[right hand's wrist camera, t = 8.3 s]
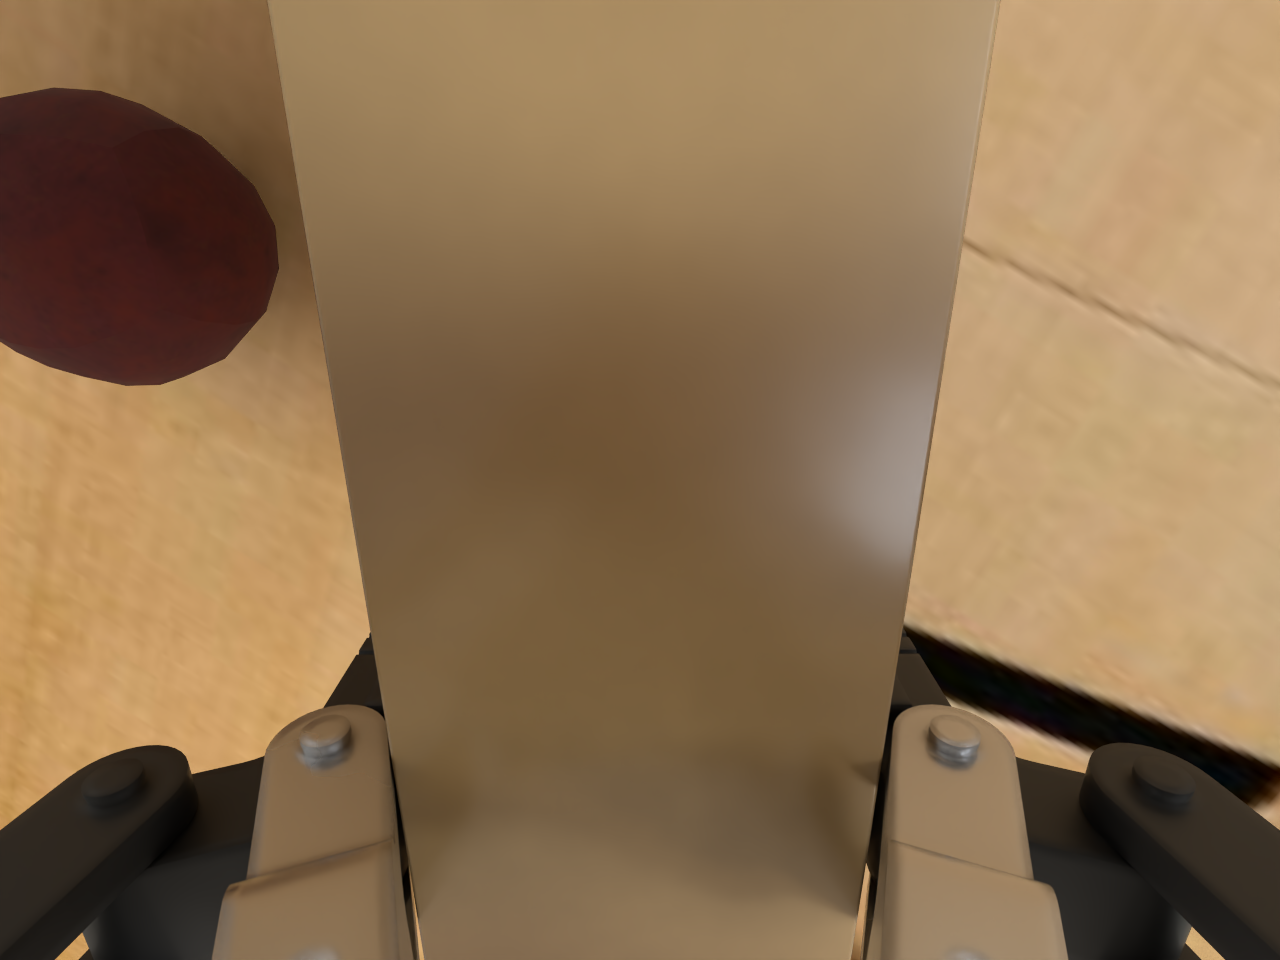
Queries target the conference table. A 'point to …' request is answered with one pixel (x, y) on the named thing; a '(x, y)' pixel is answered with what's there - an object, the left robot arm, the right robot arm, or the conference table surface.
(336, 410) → the bar
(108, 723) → the conference table surface
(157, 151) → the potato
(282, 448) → the conference table surface
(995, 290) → the conference table surface
